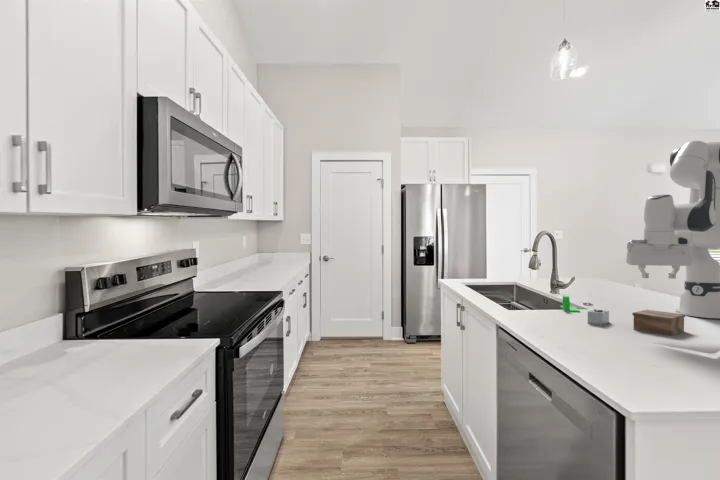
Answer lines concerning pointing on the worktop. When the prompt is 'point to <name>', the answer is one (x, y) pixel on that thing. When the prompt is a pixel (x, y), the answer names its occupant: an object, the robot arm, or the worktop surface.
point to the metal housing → (598, 317)
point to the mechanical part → (568, 305)
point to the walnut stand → (659, 322)
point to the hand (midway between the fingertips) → (658, 278)
